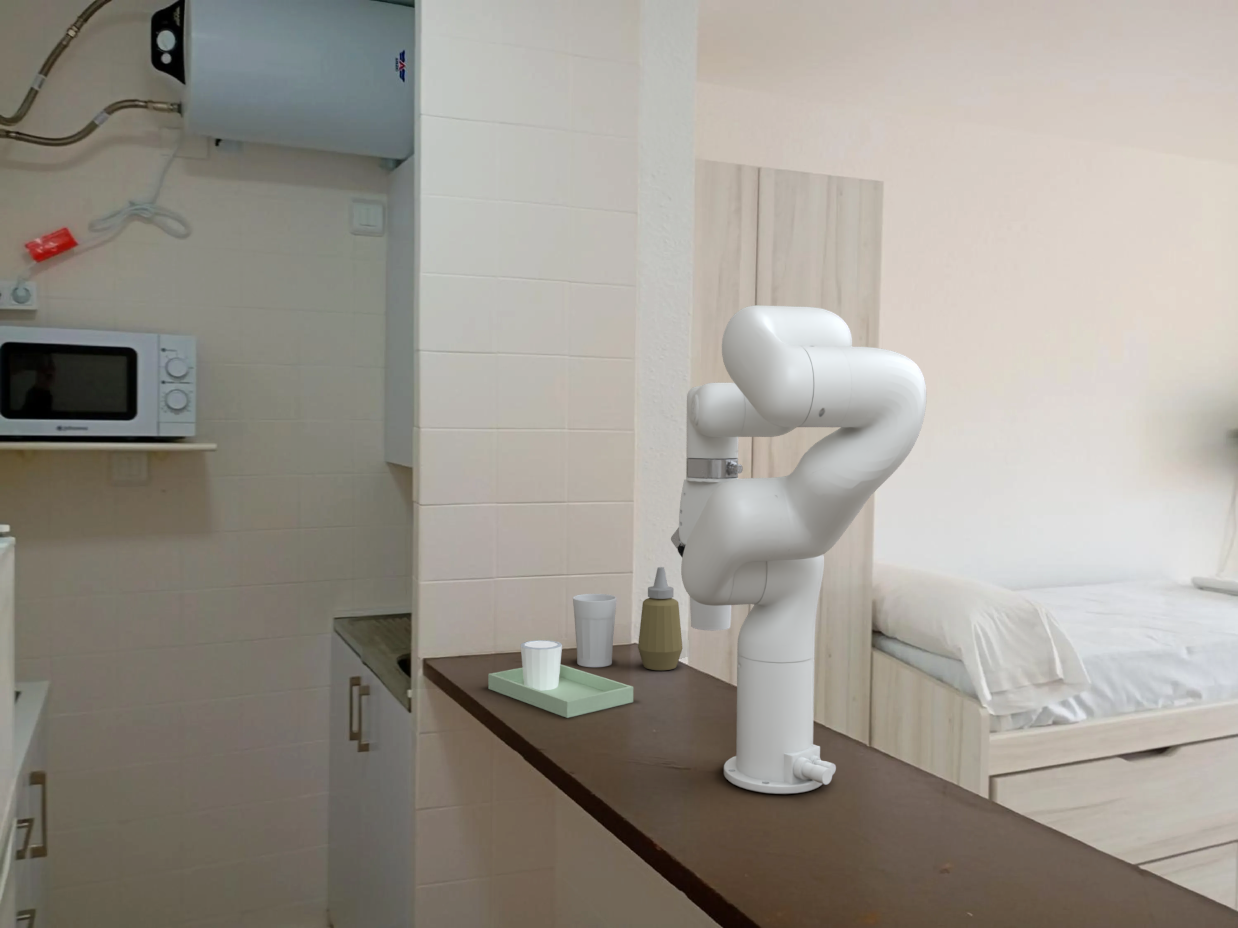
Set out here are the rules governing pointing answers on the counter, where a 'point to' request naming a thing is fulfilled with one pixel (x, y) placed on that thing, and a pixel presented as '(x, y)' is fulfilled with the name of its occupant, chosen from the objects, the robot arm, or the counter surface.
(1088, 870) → the counter surface
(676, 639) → the squeeze bottle
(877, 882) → the counter surface
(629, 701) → the tray
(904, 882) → the counter surface
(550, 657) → the white tapered cup
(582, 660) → the cup
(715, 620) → the white tumbler
